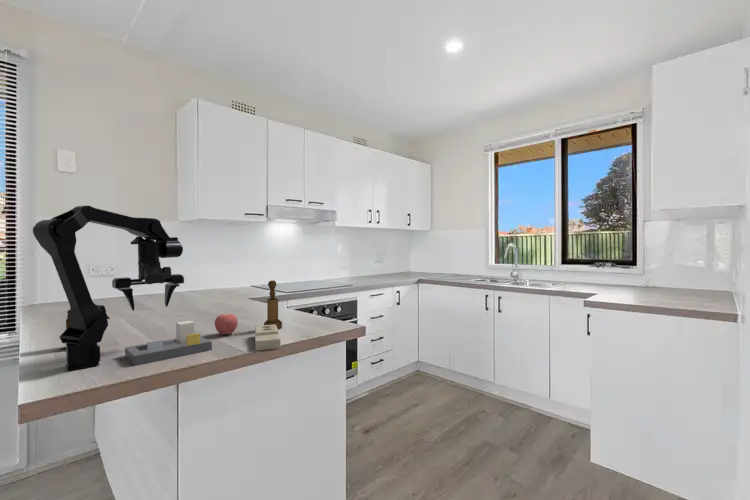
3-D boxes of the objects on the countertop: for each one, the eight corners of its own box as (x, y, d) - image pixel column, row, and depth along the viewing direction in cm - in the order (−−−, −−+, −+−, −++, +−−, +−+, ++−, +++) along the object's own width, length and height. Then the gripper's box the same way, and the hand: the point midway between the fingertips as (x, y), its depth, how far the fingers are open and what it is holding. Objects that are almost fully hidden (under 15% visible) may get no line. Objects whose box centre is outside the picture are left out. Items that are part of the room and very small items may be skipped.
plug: (180, 351, 113) (180, 324, 112) (176, 348, 115) (176, 322, 115) (194, 348, 115) (194, 322, 115) (190, 345, 118) (189, 320, 118)
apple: (211, 334, 132) (210, 312, 132) (230, 330, 138) (230, 309, 138) (221, 338, 127) (220, 314, 127) (241, 333, 133) (240, 311, 133)
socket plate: (134, 365, 100) (134, 344, 99) (125, 355, 108) (124, 337, 108) (211, 349, 113) (211, 331, 113) (197, 342, 122) (197, 325, 122)
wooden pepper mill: (279, 330, 137) (278, 281, 137) (261, 330, 138) (260, 281, 137) (283, 326, 144) (283, 279, 144) (267, 326, 144) (266, 279, 144)
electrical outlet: (255, 338, 112) (254, 325, 129) (255, 351, 112) (254, 337, 129) (280, 336, 114) (276, 324, 131) (280, 349, 114) (276, 335, 131)
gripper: (118, 260, 105) (120, 316, 106) (189, 258, 118) (190, 307, 118) (111, 259, 113) (112, 311, 114) (178, 257, 126) (179, 303, 126)
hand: (150, 308), depth 118 cm, fingers open, 9 cm apart
